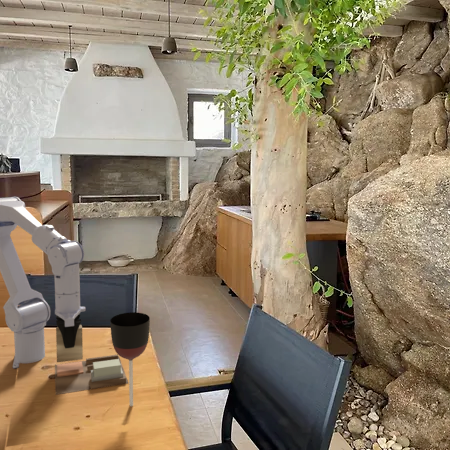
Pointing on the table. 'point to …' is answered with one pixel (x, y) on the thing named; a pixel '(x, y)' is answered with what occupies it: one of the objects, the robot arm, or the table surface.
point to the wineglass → (130, 339)
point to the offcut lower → (106, 376)
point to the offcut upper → (106, 367)
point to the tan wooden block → (69, 353)
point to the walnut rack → (83, 376)
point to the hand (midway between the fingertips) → (69, 345)
